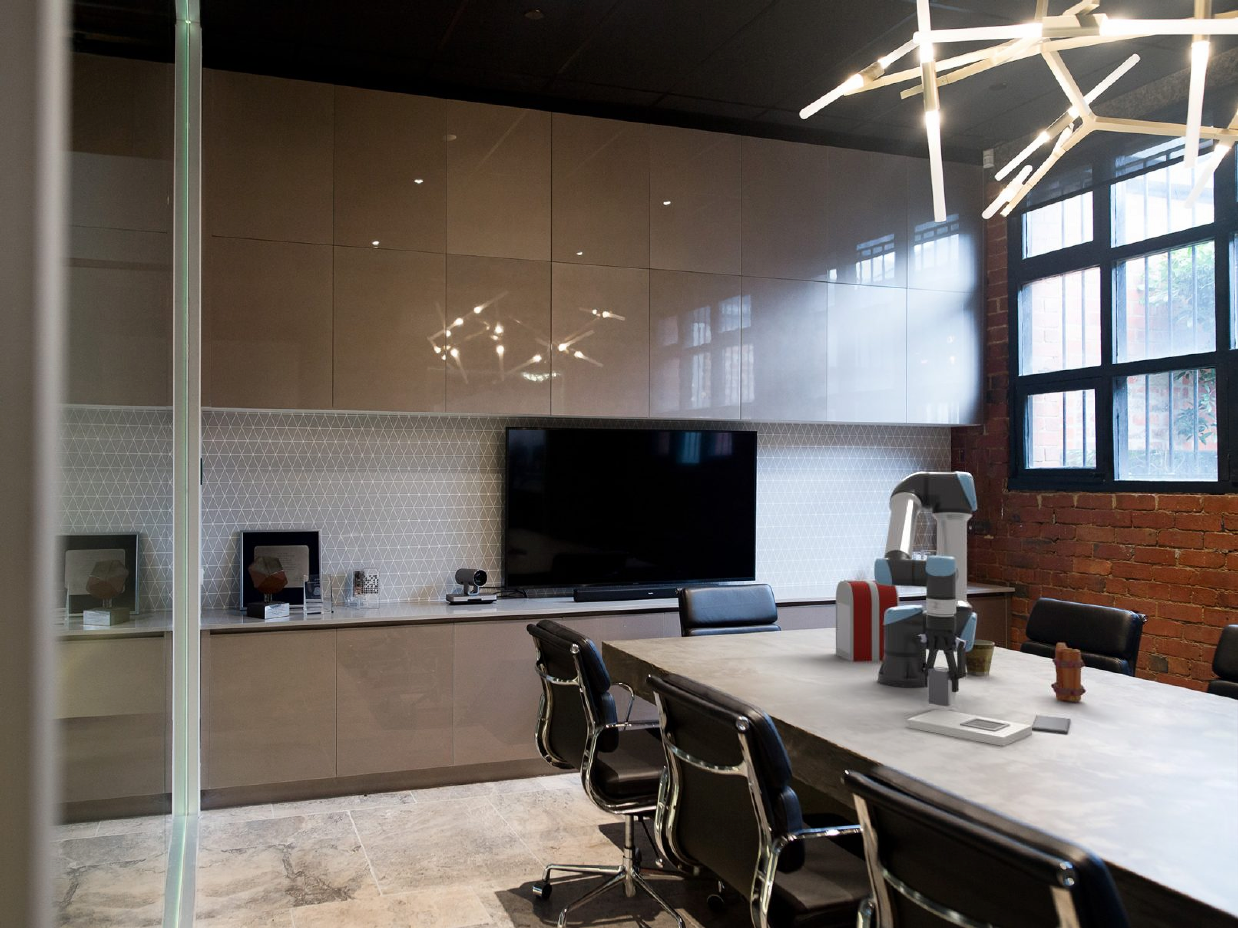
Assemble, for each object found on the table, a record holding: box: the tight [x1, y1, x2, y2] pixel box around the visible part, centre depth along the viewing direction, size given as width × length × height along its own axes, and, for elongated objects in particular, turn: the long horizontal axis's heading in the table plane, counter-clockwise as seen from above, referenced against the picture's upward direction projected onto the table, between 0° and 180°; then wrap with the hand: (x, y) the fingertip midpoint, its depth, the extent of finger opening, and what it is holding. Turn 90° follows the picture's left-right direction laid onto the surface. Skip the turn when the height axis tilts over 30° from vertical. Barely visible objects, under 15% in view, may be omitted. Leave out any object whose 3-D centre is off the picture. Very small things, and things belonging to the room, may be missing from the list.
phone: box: [1031, 714, 1071, 735], centre depth 237 cm, size 8×15×1 cm, turn 152°
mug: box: [1050, 642, 1087, 703], centre depth 269 cm, size 15×8×15 cm, turn 168°
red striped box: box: [835, 579, 900, 663], centre depth 334 cm, size 16×18×27 cm
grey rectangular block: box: [928, 666, 951, 708], centre depth 252 cm, size 5×5×9 cm
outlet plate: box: [906, 708, 1033, 747], centre depth 231 cm, size 24×16×2 cm, turn 45°
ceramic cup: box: [966, 639, 995, 676], centre depth 306 cm, size 13×10×10 cm
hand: (941, 701), depth 252 cm, fingers closed on grey rectangular block, 5 cm apart
